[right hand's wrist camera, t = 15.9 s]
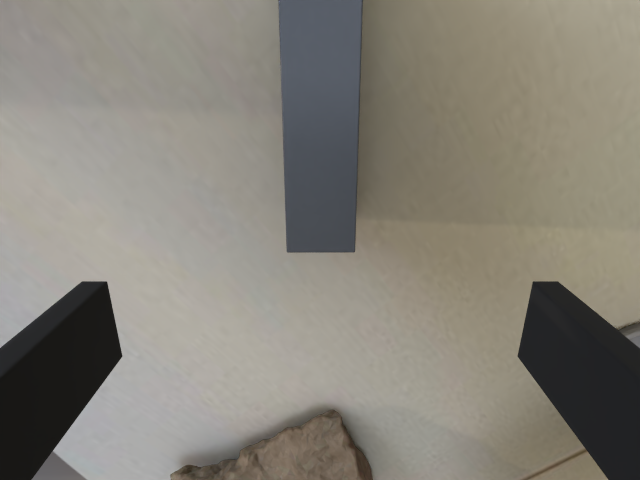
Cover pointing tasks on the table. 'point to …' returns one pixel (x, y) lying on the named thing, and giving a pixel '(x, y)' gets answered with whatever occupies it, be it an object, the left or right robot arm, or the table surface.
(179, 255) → the table surface
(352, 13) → the bar
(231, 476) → the stone
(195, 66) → the table surface
